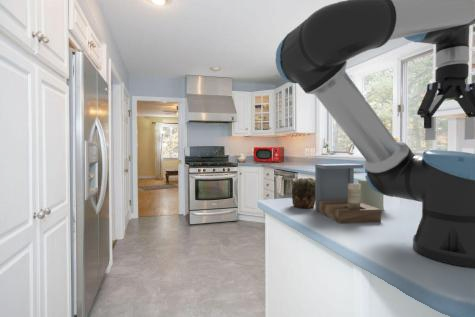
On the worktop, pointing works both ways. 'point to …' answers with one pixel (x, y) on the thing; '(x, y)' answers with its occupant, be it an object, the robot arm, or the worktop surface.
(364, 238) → the worktop surface
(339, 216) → the socket block
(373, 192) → the can
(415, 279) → the worktop surface
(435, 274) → the worktop surface
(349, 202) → the peg
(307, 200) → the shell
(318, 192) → the grey open drawer
